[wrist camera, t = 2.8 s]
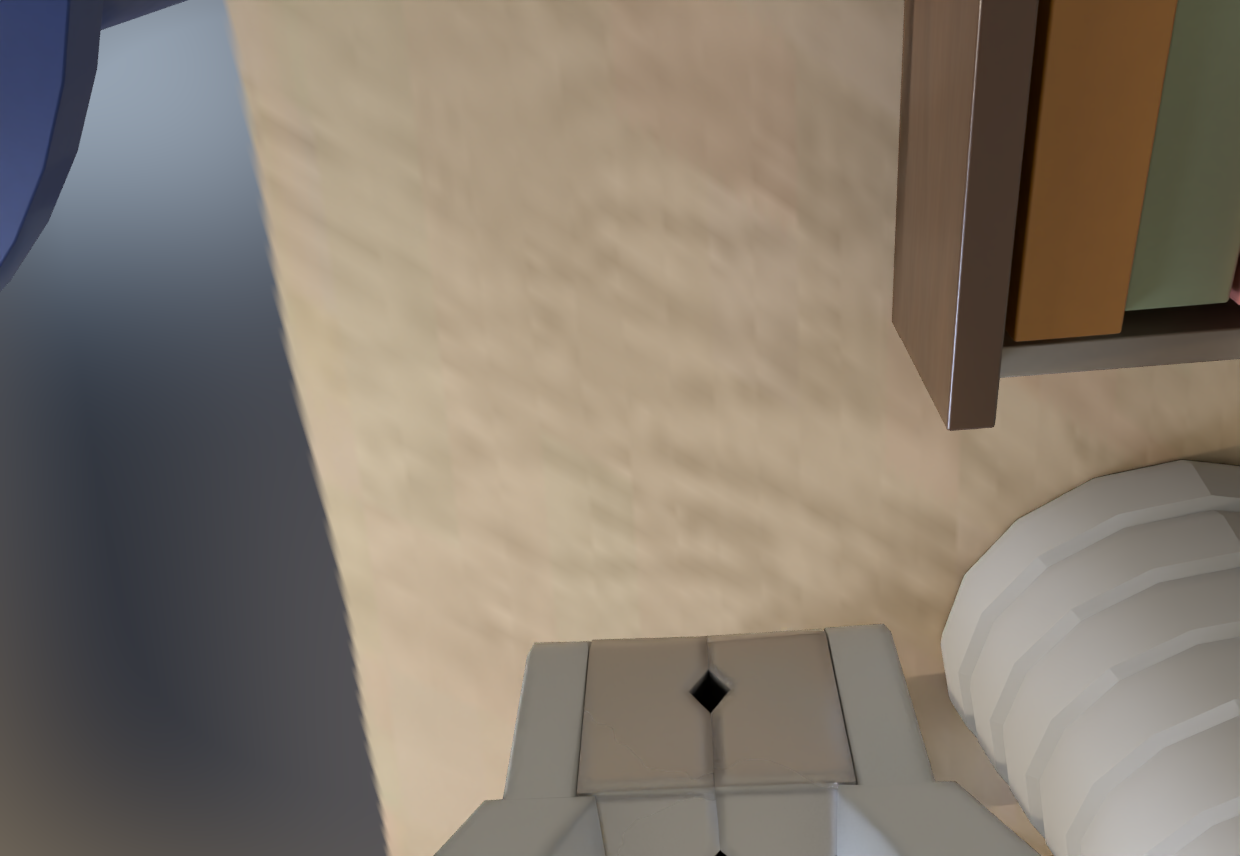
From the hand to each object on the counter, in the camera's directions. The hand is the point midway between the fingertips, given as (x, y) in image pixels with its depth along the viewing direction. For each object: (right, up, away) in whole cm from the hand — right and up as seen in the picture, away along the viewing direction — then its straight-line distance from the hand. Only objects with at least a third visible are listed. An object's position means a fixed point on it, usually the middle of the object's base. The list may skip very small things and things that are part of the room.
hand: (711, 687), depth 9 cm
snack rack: (+11, +10, +14) cm, 20 cm away
